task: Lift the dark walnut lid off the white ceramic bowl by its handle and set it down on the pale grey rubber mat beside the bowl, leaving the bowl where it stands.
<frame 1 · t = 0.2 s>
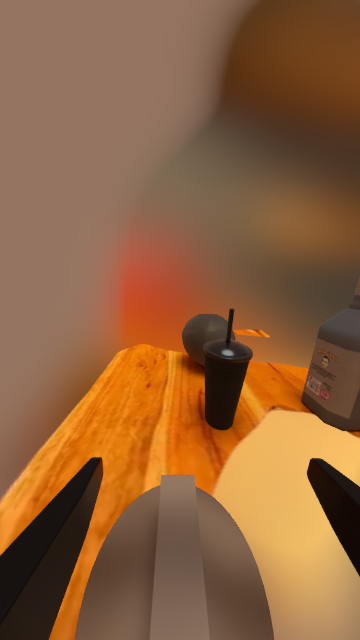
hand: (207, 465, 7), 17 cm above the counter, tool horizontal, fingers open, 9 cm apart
dark grey round stone: (205, 365, 49), on the counter
liquor: (332, 412, 34), on the counter
lid: (175, 596, 11), point 5 cm above the counter, touching bowl
drinking cup: (218, 419, 31), on the counter
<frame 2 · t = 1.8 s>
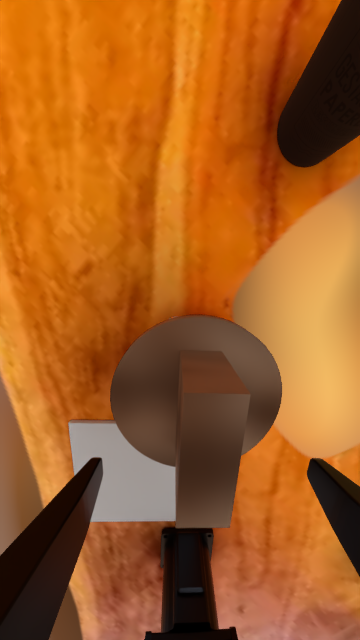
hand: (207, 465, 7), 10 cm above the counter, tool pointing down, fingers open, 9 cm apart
mat: (139, 472, 20), on the counter
lid: (195, 391, 12), point 5 cm above the counter, touching bowl
drinking cup: (306, 132, 13), on the counter
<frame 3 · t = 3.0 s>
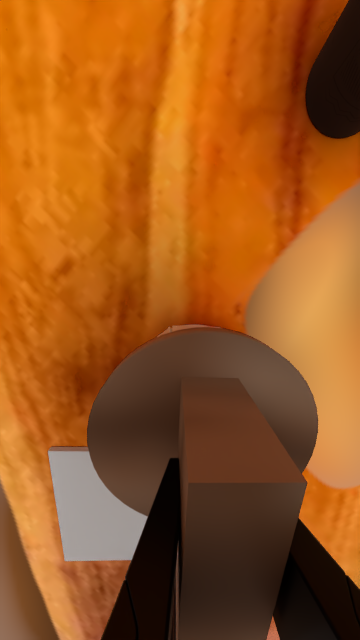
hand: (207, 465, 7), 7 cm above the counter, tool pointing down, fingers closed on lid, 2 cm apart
mat: (133, 505, 17), on the counter
lid: (201, 426, 9), point 5 cm above the counter, touching gripper
drinking cup: (342, 94, 10), on the counter
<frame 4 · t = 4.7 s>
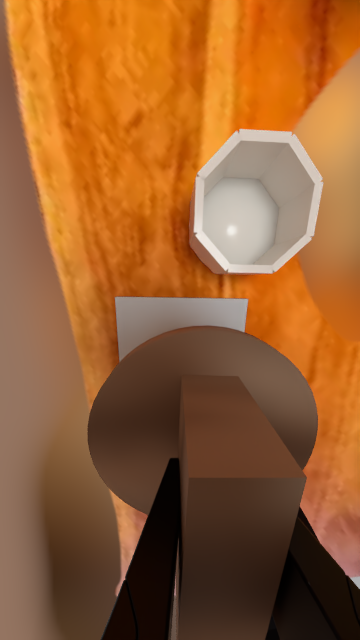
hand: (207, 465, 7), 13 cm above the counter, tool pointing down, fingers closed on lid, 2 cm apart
mat: (180, 357, 20), on the counter
bowl: (233, 228, 17), on the counter
lid: (201, 424, 9), point 11 cm above the counter, touching gripper
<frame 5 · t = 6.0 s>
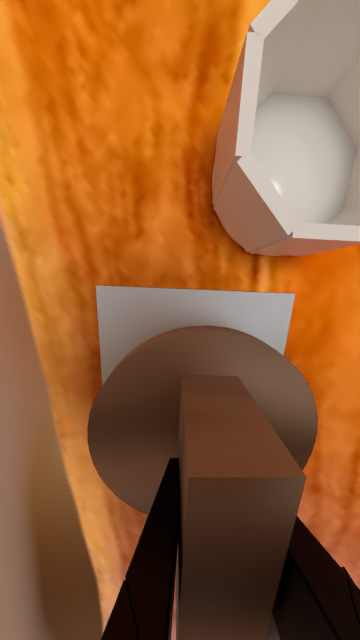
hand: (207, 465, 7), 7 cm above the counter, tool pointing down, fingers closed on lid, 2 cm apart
mat: (191, 377, 14), on the counter
bowl: (279, 183, 11), on the counter
lid: (201, 424, 9), point 5 cm above the counter, touching gripper
when the fingers open (4 cm above the counter, at t = 6.8 s): lid drops 1 cm, resting on mat.
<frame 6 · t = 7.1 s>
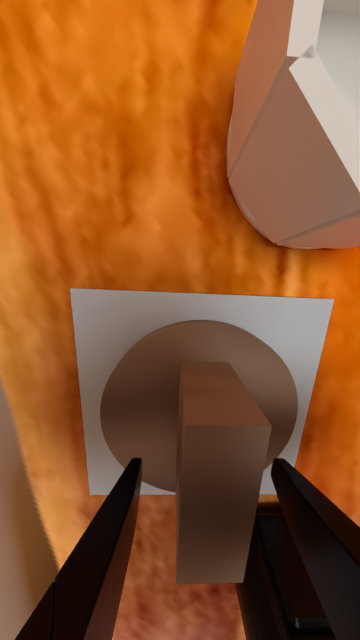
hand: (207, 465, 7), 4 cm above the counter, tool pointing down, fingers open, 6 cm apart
mat: (196, 404, 11), on the counter
bowl: (317, 150, 8), on the counter
lid: (197, 406, 11), resting on mat
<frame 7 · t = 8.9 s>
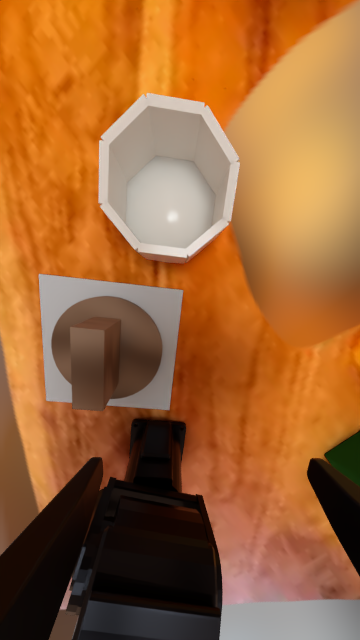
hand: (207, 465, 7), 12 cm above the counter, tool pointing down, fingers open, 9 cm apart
milk carton: (357, 453, 23), on the counter
mat: (111, 347, 19), on the counter
bowl: (170, 212, 16), on the counter
lid: (110, 347, 18), resting on mat
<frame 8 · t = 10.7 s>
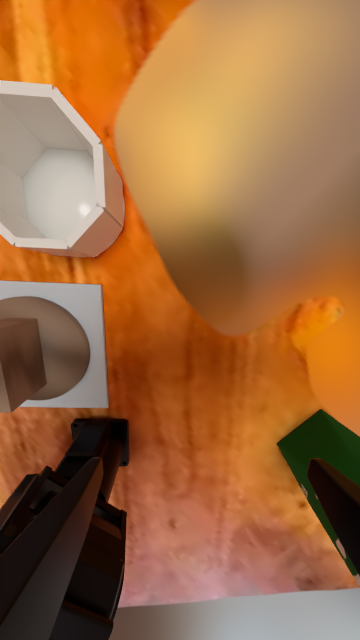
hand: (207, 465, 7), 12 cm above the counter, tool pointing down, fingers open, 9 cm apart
milk carton: (312, 440, 22), on the counter
mat: (39, 348, 18), on the counter
bowl: (76, 206, 16), on the counter
lid: (37, 348, 18), resting on mat
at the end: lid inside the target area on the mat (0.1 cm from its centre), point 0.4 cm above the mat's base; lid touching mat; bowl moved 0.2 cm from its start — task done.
